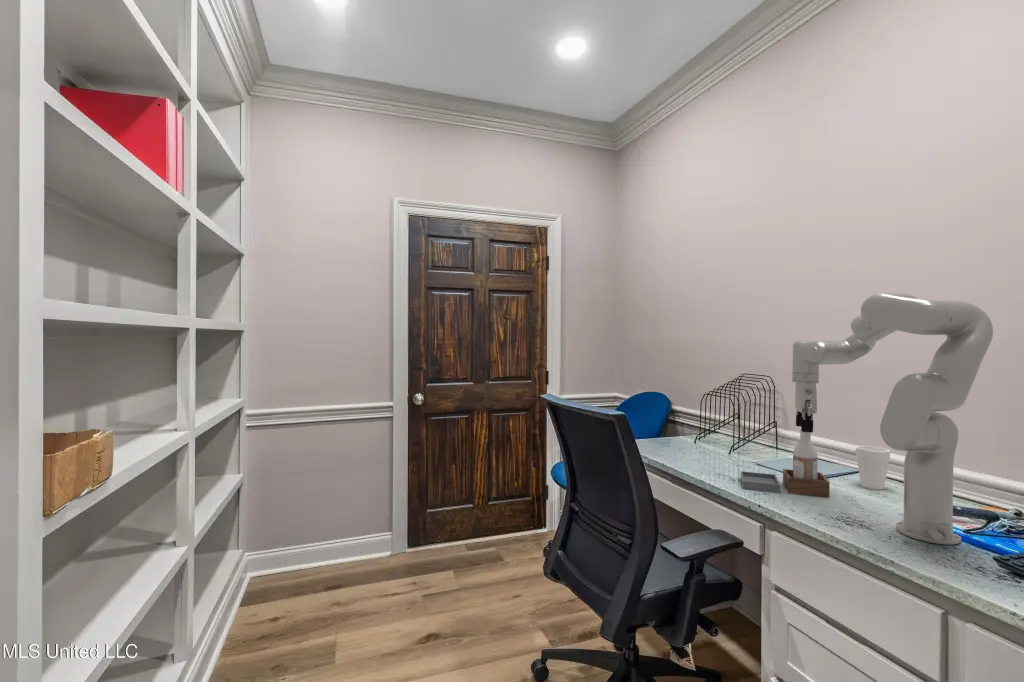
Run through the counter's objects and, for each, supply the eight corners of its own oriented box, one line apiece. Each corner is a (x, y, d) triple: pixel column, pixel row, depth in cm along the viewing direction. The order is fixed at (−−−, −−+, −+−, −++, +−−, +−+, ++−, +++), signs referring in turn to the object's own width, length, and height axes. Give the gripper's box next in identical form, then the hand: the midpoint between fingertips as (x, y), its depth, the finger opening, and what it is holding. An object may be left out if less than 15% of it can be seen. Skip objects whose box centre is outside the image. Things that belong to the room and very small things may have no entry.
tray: (780, 493, 155) (780, 485, 155) (743, 488, 159) (743, 481, 159) (775, 481, 167) (775, 474, 167) (740, 478, 171) (740, 471, 171)
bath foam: (788, 488, 160) (788, 428, 160) (803, 486, 162) (804, 427, 162) (806, 494, 154) (806, 432, 154) (822, 492, 156) (822, 431, 156)
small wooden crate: (829, 497, 151) (829, 481, 151) (788, 493, 155) (788, 477, 155) (821, 487, 161) (821, 472, 161) (782, 483, 165) (783, 469, 165)
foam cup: (896, 492, 156) (896, 452, 156) (864, 490, 158) (864, 451, 158) (879, 483, 166) (880, 446, 165) (850, 481, 167) (850, 445, 167)
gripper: (824, 381, 149) (823, 435, 149) (812, 376, 165) (811, 425, 165) (797, 379, 151) (795, 433, 152) (788, 375, 167) (787, 423, 168)
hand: (804, 429), depth 158 cm, fingers open, 9 cm apart
